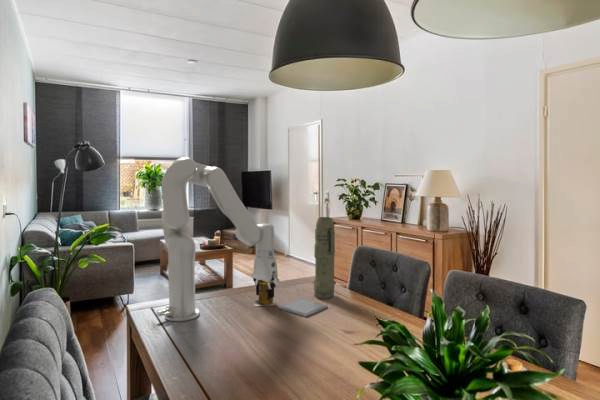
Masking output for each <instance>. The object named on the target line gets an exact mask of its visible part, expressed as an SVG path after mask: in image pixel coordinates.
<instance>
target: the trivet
mask: <svg viewBox="0 0 600 400" xmlns="http://www.w3.org/2000/svg"><path fill="white" fill-rule="evenodd" d="M328 307H329V305H326V304H322V303H319V302H316V301H311V300H308V299H304V298H297V299H296V300H294V301H290V302H289V303H285V304H283V305H280V306H278V310H280V311H284V312H287V313H290V314H292V315H296V316H299V317H303V318H308V317H310V316H313V315H315V314H317V313H319V312H322V311H324V310H326V309H328Z"/></svg>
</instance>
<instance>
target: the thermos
mask: <svg viewBox="0 0 600 400" xmlns="http://www.w3.org/2000/svg"><path fill="white" fill-rule="evenodd" d="M314 233H315V234H314V235H315V238H314V239H315V243H314V254H313V256H314V258H315V265H314V266H315V271H314V272H315V273H314V274H315V277H314V281H313V291H314V295H313V296H314V297H315V298H316V299H320V300H330V299H331V300H332V299H333V298H334V296H335V293H334V292H335V280H334V258H335V252H336V251H335V249H336V248H335V238H336V237H335V231H334V221H333V219H332V217H329V216H320V217H318V218H317V220H316V224H315V230H314Z"/></svg>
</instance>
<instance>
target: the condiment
mask: <svg viewBox="0 0 600 400" xmlns="http://www.w3.org/2000/svg"><path fill="white" fill-rule="evenodd" d="M270 284H271V285H272V283H270ZM268 289H269V287H268V284H267V282H265V281H263V280H260V281H259V295H258V299H253V300H252V302H253V305H254V307H263V306H264V307H267V306H276V304H275V300H274V297H273V298H270V299H268Z"/></svg>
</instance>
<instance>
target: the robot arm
mask: <svg viewBox="0 0 600 400" xmlns="http://www.w3.org/2000/svg"><path fill="white" fill-rule="evenodd" d="M188 183H191V184H194V185H197V186H202V187H205V188H207V189H208V192H209V193H210V195H211V196H212V198H213V199H214V201H215V203H216V205H217V206H218V208H219V210H220V211H221V212H222V214H223V215H225V216H226V217H227V218H228V219H229V220H230V222H232V224H233V226H234V227H235V231H234V234H235V237H236V239H237V240H238V241H240V242H242V243H244V244H245V245H247V246H254V245H255V256H254V261H253V272H252V273H251V274H250V275H251V278H252V281H253V282H254V286H256V287H255V294H256V296H259V281H260V280H263V281H265V282H267V284H268V287H269V289H268V299H270V298H273V299H274V297H275V288H277V286H278V284H279V283H280V279H279V278H278V265H277V263H278V262H277V259H276V257H275V255H276V253H275V234H274V233H275V227H274V225H273V224H272V223H258V224H257V223H256V221H255V219H254V218H253V216H252V214H251V213H250V211H249V210H248V209H247V207H246V206H245V205H244V203H243V202H242V201H241V199H240V197H239V196H238V194H237V192H236V191H235V189H234V187H233V185H232V183H231V182H230V180H229V178H228V176H227V174H226V173H225V172H224V170H223V169H222V168H220V167H217V166H209V165H206V164H203V163H198V162H196V161H195V160H194V159H193V158H191V157H188V156H182V157H179V158H177V159H175V160H174V161H173V162H172V163H171V165H169V167H168V168H167V170H165V172H164V174H163V177H162V180H161V197H162V205H163V207H162V211H161V225H162V230H163V237H164V241H165V242H164V244H165V246H166V248H167V250H168V251H167V253H168V256H167V257H168V268H167V269H168V271H167V272H168V274H167V275H168V304H166V307H165V308H164V309H161V310H159V311H156V316H157V317H158V318H159V317H162V316H164V318H165V320H167V321H171V322H185V321H191V320H193V319H195V318H197V317H199V315H200V314H201V313H200V312H201V311H200V309H199V308H197V307H196V272H195V271H196V270H195V266H196V265H195V262H196V244H195V243H196V242H195V240H194V239H193V237H192V236H191V235H190V232H189V230H190V229H189V223H190V211H189V206H188V201H187V199H188V198H187V192H186V191H187V190H186V189H187V184H188ZM270 283H272V285H271V284H270Z"/></svg>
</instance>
